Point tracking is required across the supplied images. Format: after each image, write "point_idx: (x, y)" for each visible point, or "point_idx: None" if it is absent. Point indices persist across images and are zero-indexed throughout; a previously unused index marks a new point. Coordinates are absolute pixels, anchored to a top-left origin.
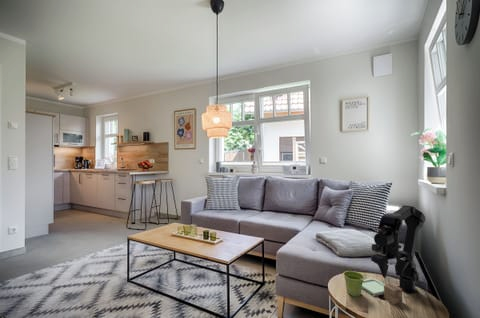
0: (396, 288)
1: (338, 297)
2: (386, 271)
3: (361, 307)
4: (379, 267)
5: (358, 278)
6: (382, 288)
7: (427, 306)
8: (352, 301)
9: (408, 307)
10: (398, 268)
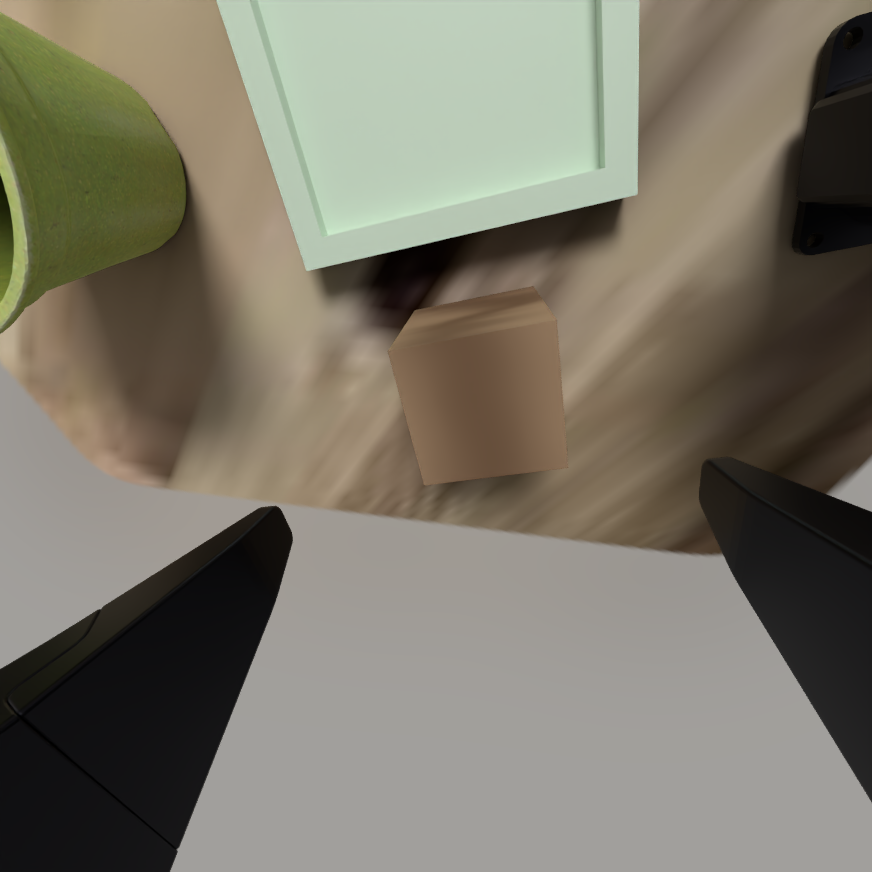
0: (502, 448)
1: None
2: (196, 738)
3: (140, 423)
4: (15, 677)
5: (19, 63)
6: (523, 109)
7: None
8: (78, 334)
9: None
10: (807, 551)
